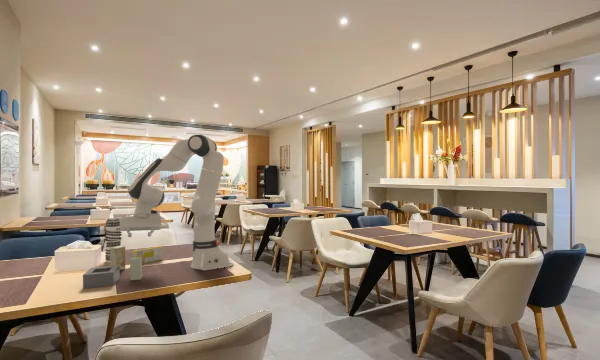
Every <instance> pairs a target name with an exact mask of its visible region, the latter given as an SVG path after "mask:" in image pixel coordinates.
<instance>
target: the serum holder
mask: <svg viewBox="0 0 600 360" xmlns="http://www.w3.org/2000/svg"><path fill="white" fill-rule="evenodd" d="M120 271H121V270H120V266H110V265H109V266H101V267H91V268H89V269H88V270H87V271H86V272H84V274H83V275H82V289H91V288H92V289H93V288H94V289H95V288H101V287H102V288H103V287H111V286H112V287H113V286H115V285H116V283H117V282H118V281H119V280H120V277H121V276H120V273H121V272H120Z"/></svg>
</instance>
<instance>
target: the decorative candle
mask: <svg viewBox="0 0 600 360" xmlns="http://www.w3.org/2000/svg"><path fill="white" fill-rule="evenodd" d="M120 223H121V219H120V218H119V217H110V218H107V219H106V221H105V228H104V233H103V234H104V240H105V241H104V242H105V245H106V246H105V250H104V251H105V257H104V258H105V263H110V248H113V247H117V246H122V244H121V242H122V239H123V238H122V237H121V236H123V234H122V233H123V231H121V230H120Z"/></svg>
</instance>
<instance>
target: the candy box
mask: <svg viewBox="0 0 600 360" xmlns="http://www.w3.org/2000/svg"><path fill="white" fill-rule="evenodd" d="M131 255H132V256H131V258H132V257H142V265H144V264H150V263H155V262H159V261H163V246H161V245H158V246H154V247H148V248H141V249H136V250H135V249H134V250H132V251H131Z"/></svg>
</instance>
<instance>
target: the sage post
mask: <svg viewBox="0 0 600 360" xmlns="http://www.w3.org/2000/svg"><path fill="white" fill-rule="evenodd" d="M129 268H130V269H129V272H130V273H129V275H130V277H129V278H130V279H129V280H130V281H139V280H141V279H142V278H143V264H142V257H132V256H131V257H130V259H129Z"/></svg>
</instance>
